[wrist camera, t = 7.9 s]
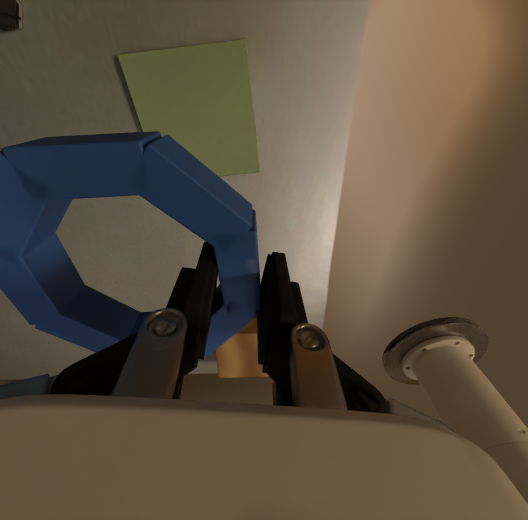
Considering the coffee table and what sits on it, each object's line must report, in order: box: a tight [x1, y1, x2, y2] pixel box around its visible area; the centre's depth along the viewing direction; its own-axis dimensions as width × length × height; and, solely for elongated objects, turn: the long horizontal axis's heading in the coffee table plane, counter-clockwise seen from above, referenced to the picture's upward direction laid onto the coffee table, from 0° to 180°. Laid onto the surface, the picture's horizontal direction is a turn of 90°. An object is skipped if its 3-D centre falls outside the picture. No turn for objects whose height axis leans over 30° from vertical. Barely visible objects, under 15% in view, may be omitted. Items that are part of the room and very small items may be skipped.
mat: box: [118, 39, 260, 177], centre depth 25 cm, size 11×11×1 cm
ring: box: [0, 131, 261, 356], centre depth 11 cm, size 10×10×2 cm
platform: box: [215, 317, 268, 378], centre depth 41 cm, size 11×11×4 cm
